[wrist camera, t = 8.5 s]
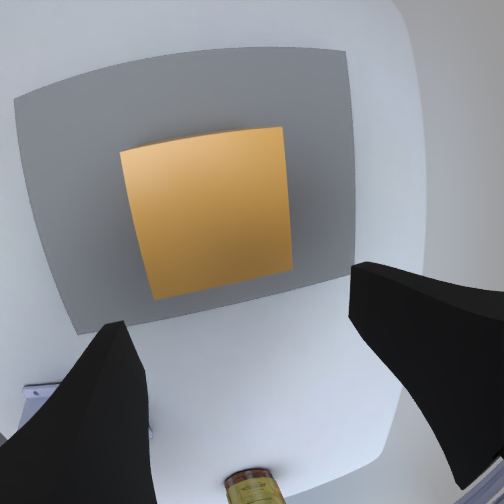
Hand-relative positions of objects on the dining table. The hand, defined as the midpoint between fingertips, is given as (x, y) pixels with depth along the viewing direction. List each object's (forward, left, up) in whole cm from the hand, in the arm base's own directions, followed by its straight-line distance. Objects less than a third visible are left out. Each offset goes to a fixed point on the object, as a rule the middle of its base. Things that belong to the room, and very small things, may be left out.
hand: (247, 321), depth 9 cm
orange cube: (0, +3, -8) cm, 8 cm away
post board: (0, +3, -9) cm, 10 cm away
